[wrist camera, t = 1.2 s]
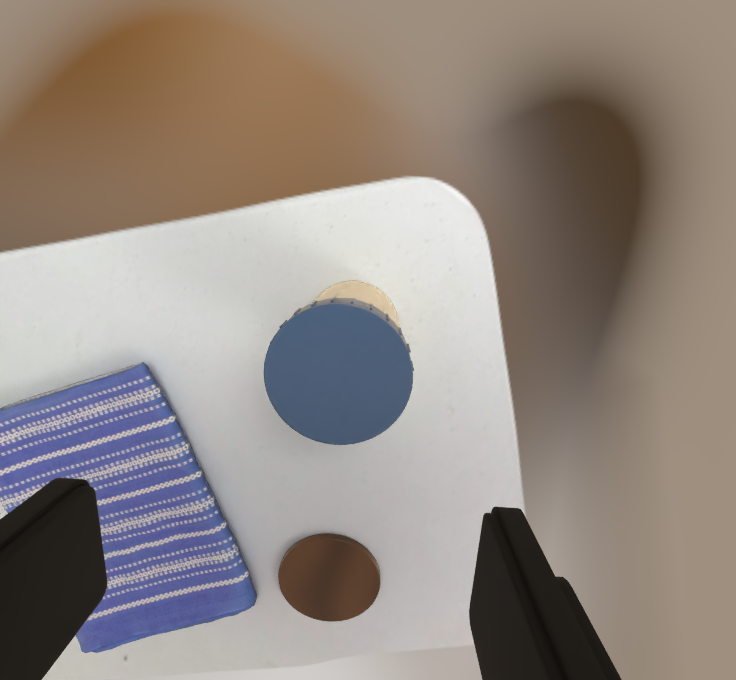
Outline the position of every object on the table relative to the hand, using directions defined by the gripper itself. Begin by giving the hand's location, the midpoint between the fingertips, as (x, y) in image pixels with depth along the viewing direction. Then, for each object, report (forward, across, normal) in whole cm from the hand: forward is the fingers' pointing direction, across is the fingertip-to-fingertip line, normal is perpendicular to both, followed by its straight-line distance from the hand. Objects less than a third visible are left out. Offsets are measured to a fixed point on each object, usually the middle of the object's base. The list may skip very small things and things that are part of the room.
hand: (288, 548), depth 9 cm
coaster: (+22, +1, +23) cm, 32 cm away
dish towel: (+22, +19, +18) cm, 34 cm away
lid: (+11, 0, 0) cm, 11 cm away
